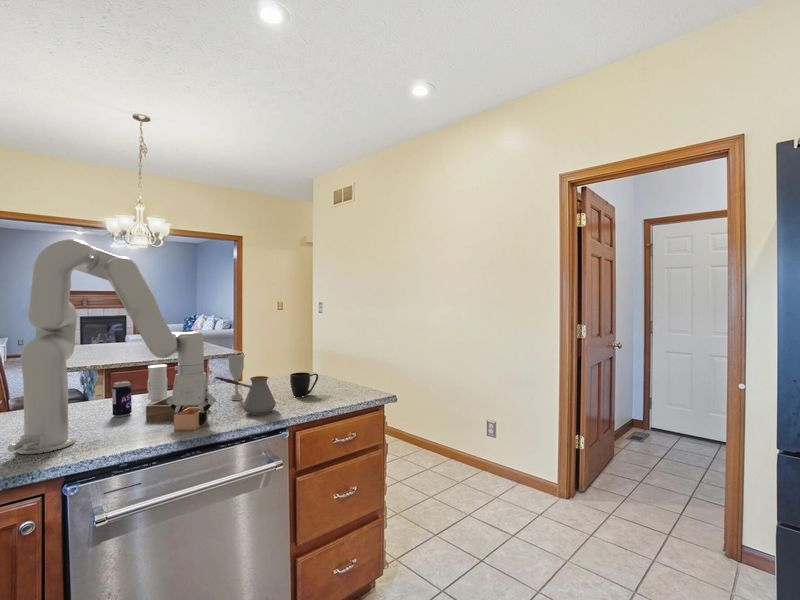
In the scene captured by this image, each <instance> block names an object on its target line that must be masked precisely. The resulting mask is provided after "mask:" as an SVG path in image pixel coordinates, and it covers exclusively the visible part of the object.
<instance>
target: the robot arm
mask: <svg viewBox="0 0 800 600" xmlns="http://www.w3.org/2000/svg"><path fill="white" fill-rule="evenodd" d="M73 271H77V272H78V271H79V272H81V273H84V274H88V275H91V276H93V277H97V278H100V279H103V280H105V281H108V282H109V283H110V285H111V287H112V288H113V290H114V292H115V293H116V295H117V297H118V298H119V300H120V302H121V303H122V306H123V307H124V309H125V311H126V313H127V315H128V316H129V318H130V320H131V321H132V323H133V324H134V326H135V328H136V330H137V332H138V333H139V335H140V337H141V338H142V340H143V342H144V344H145V346H146V347H147V349H148V350H149V352H150V353H151V354H152V355H153V356H155V357H156V358H160V359H166V358H169V357H171V356H173V355H174V354H177V365H175V366H174V371H177V373H176V374H175V375H174V381H173V385H172V395H170V396H171V397H170V398H169V399H168V400H167V403H168V404H169V405H170V406H171V408H172V409H173V410H174V412H175V413H176V414H177V413H179V412H181V411H183V407H184V406H197V405H198V407H199V409H200V411H201V413H199V425H203V424H204V423H206V420H207V410H208V411H209V409H210V408H211V407H213V405H214V404H215V403H216V402H217V399H216V398H215V397H214V396H213V395H212V394H211V393H210V391H209V390H210V389H209V382H208V381H209V380H208V377H207V373H206V372H205V366H204V365H205V360H204V359H205V358H204V350H205V347H204V344H205V343H204V334H203V332H201V331H185V332H172V331H171V330H170V327H169V326H168V324H167V322H166V320H165V318H164V317H163V315H162V313H161V310H160V308H159V304H158V301H157V299H156V297H155V295H154V294H153V292H152V290H151V289H150V287H149V285H148V283H147V282H146V280H145V278H144V277H143V275H142V273H141V271H140V269H139V266H138V265H137V263H135V262H134V260H133V259H131V258H129V257H127V256H118V255H116V254H112V253H109V252H108V251H104V250H102V249H99V248H96V247H95V246H92V245H90V244H89V243H87V242H85V241H83V240H79V239H74V238H67V239H63V240H62V239H61V240H59V241H56V242H53V243H51V244H49V245H48V246H46V247H45V248H43V249H42V250H41V251H40V252H39V254H38V255H37V257H36V259H35V261H34V264H33V270H32V280H31V285H30V286H31V287H30V297H29V307H28V313H27V314H28V317H27V318H28V322H29V323H30V325H31V326H33V327H34V328H35V337H34V338H32V339H31V340H29V341H28V342H27V343H25V344H24V346H23V348H22V350H21V353H20V365H21V371H22V381H23V382H22V383H23V385H22V386H23V435H21V436H20V440H18V442H14V443H11V444H9V445H8V446H7V451H8V452H10V453H12V452H15V451H16V453H17V454H20V455H36V453H37V454H43V452H44V453H49V452H53V450H54V451H57V449H58V450H61V449H63V448H68V446H71V445H73V444H74V443H75V442H76V437H75V436H74V435H70V434H69V389H68V388H69V386H68V385H69V381H68V380H69V379H68V370H67V361H68V360H69V359H70V358H71V356H72V355H73V353H74V351H75V347H76V345H75V343H76V334H77V333H76V332H77V331H76V330H77V318H78V313H77V310H76V307H75V306H74V303H72V302H71V301H70V294H71V287H72V285H71V284H72V280H71V276H72V273H73ZM207 401H208V404H207V405H206V402H207ZM206 424H207V423H206ZM204 425H205V424H204ZM204 425H203V426H204Z"/></svg>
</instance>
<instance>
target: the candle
mask: <svg viewBox="0 0 800 600" xmlns="http://www.w3.org/2000/svg"><path fill="white" fill-rule="evenodd" d="M167 367H168V365H167V364H153V365H148V366H147V368H148V379H147V392H148V395H147V399H148V401H149V405H150V404H152V403H155V402H157V401H160V400H162V399H164V398H167V397H168V377H167V375H168V374H167Z"/></svg>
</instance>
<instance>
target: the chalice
mask: <svg viewBox="0 0 800 600" xmlns="http://www.w3.org/2000/svg"><path fill="white" fill-rule="evenodd" d="M245 357H246V356H245V355H242V354H236V355H235V354H234V355H229V356H227V359H228V370H229V373H230V376H231V377H232V379H234V381H236V382H239V381H238V380H239V379H240V378H241V376H242V374H243V371H244V369H245V359H244V358H245ZM238 390H239V385H236V384H234V393H232V394H231V397H230V401H231V400H239V401H242V400H244V398H243V395H242V394H241V393H240V392H239V391H238ZM241 399H242V400H241Z"/></svg>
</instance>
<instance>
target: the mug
mask: <svg viewBox="0 0 800 600" xmlns="http://www.w3.org/2000/svg"><path fill="white" fill-rule="evenodd" d="M312 376H315V380H314V381H313V384H312V385H311V387H310V382H311V377H312ZM289 378H290V379H289V380H290V381H289V383H290V388H291V392H292V395H293V397H294V396H295V397H294V398H296V397H301V398H303V397H302V396H306V395H307V396H308V395H310V394H311V392H312V391H313V389H314V388H315V386H316V384H317V381H318V379H319V375H318V373H311V374H310V372H306V371H305V372H293V373H290V377H289ZM307 396H306V397H307Z"/></svg>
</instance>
